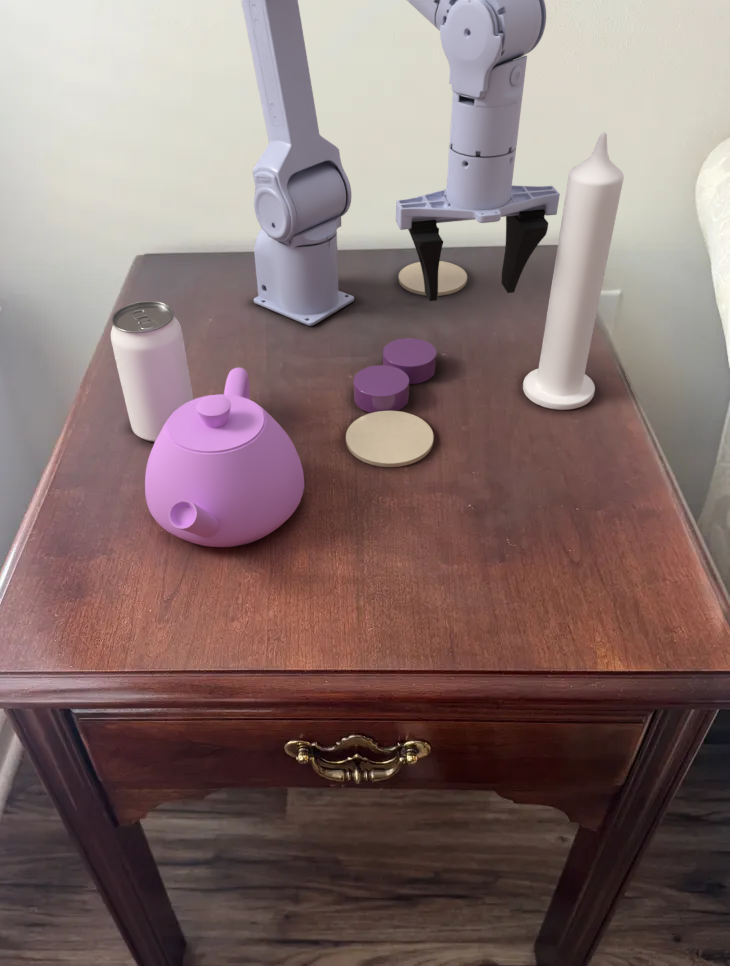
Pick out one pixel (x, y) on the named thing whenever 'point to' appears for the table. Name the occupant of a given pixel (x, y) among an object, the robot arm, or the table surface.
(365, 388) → the purple puck
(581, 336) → the candle
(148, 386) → the can
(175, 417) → the teapot
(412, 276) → the coaster far
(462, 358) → the table surface
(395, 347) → the purple round puck
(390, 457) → the coaster near
